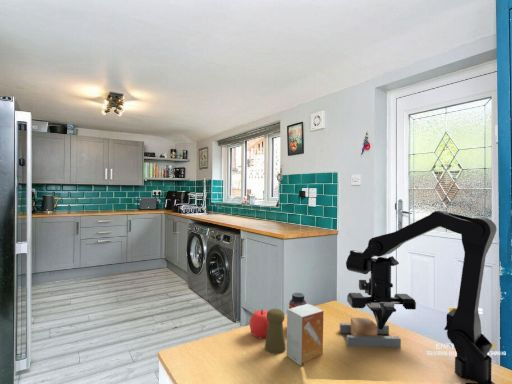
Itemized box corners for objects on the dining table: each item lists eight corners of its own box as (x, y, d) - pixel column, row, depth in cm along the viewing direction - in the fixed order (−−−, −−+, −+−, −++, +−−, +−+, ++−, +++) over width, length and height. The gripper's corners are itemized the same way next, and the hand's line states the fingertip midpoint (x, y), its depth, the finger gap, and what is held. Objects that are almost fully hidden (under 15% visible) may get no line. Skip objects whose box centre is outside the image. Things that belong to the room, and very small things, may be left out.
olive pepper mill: (261, 350, 84) (261, 311, 84) (270, 341, 89) (270, 304, 89) (280, 356, 81) (281, 316, 81) (288, 346, 86) (289, 308, 87)
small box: (301, 367, 76) (302, 317, 76) (285, 355, 81) (286, 308, 81) (323, 357, 81) (324, 310, 81) (307, 347, 86) (307, 302, 86)
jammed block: (369, 333, 92) (370, 317, 92) (377, 343, 86) (377, 326, 86) (350, 333, 92) (350, 317, 92) (356, 343, 86) (356, 326, 86)
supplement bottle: (285, 326, 99) (285, 292, 99) (300, 322, 102) (300, 290, 102) (295, 333, 94) (295, 298, 94) (310, 330, 97) (310, 295, 97)
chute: (386, 334, 94) (386, 323, 94) (400, 351, 84) (400, 338, 84) (339, 333, 94) (339, 322, 94) (347, 349, 85) (348, 337, 85)
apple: (244, 335, 93) (244, 310, 93) (259, 326, 99) (259, 302, 99) (264, 343, 88) (264, 317, 88) (279, 333, 94) (279, 308, 94)
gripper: (399, 271, 97) (399, 318, 97) (342, 270, 98) (342, 317, 98) (417, 281, 86) (416, 334, 86) (352, 280, 86) (352, 333, 86)
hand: (380, 328), depth 89 cm, fingers closed
